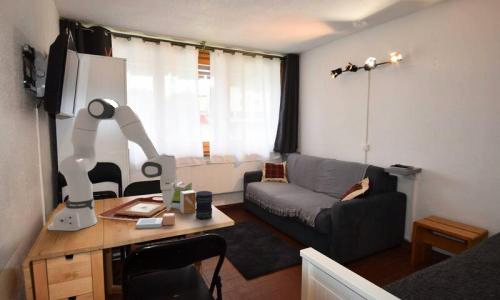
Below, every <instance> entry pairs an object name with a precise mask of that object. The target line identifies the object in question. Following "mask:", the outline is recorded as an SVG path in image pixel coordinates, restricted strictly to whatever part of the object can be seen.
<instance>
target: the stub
mask: <svg viewBox="0 0 500 300" xmlns="http://www.w3.org/2000/svg"><path fill="white" fill-rule="evenodd" d="M162 218H163V224H162V226H169V225H171V226H172V225H175V222H176V213H174V212H173V213H172V212H171V213H167V212H166V213H163V215H162Z"/></svg>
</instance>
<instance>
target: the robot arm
mask: <svg viewBox="0 0 500 300" xmlns="http://www.w3.org/2000/svg"><path fill="white" fill-rule="evenodd" d="M76 113H77V114H76V116H75V119H74V121H73V122H74V123H73V127H72V131H71V132H72V133H71V139H70V142H71V144H72V148H73V149H72V150H73V152H72V153H73V154H72V155H68V156H66V157H65V158H63V159H62V160H61V161H60V162H59V164H58V170H59V172H60V174H61V175H63V177H64V179H65V181H66V184H67V189H68V190H67V191H68V198H67V200H66V201H64V203H63V205H64V208H62V209H60V211H58V212H57V213H56V214H55V215H54V216H53V219H52V223H50V224H49V225H48V226H47V230H48V231H71V232H72V231H73V232H75V231H79V230H82V229H85V228H89V227H92V226H94V225H95V224H97V223H98V219H97V217H96V214H95V212H96V211H95V198H94V196H93V195H94V193H93V190H94V189H93V183H92V182H91V180H90V178H89V175H88V172H90V171H91V170H93V169H94V168H95V167H96V166H97V163H98V159H97V156H96V143H97V135H98V129H99V125H100V123H101V121H110V120H111V121H112V120H114V121H116V123H117V125H118V127H119V129H120V131H121V134H122V135H123V136H124V137H125V139H126V140H127V141H130V142H131V143H134V144H136V145H138V146H139V147H140V148H141V150H142V151H143V153H144V155H145V157H146V159H147V160H146V161H145V162H144V163H143V164H142V165H141V168H140V171H141V173H142V175H143V176H144V177H145V178H148V179H153V178H158V177H159V178H160V179H159V182H160V190H161V196H162V202H163V205H165V206H166V207H165V208H166V211H171V206H170V205H172V199H173V196H174V189H175V187H176V186H177V182H178V175H177V170H178V169H177V160H176V157H175V155H173V154H170V153H161V154H159V153H158V151H157V150H156V148H155V146H154V145H153V142H152V141H151V139H150V137H149V135H148V132H146V129H145V127H144V124H143V123H142V121H141V119H140V117H139V115H138V113H137V112H136V111H135V109H134V108H133V106H131V105H130V104H121V105H120V103H119V102H118V101H115V100H113V99H109V98H100V97H99V98H95V99H92V100H90V101H89V103H87V107H83V108H80V109H78V111H77V112H76Z"/></svg>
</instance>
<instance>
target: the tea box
mask: <svg viewBox="0 0 500 300" xmlns="http://www.w3.org/2000/svg"><path fill="white" fill-rule="evenodd" d="M189 190H193V187H192V181H191V182H190V181H177V186H176V187H175V189H174V196H173V199H172V205H170V209H180V192H182V191H189Z"/></svg>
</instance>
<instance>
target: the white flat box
mask: <svg viewBox="0 0 500 300" xmlns="http://www.w3.org/2000/svg"><path fill="white" fill-rule="evenodd" d="M162 226H163V217H149V218H148V217H147V218H144V217H143V218H139V219H138V221H137V222H136V224H135V229H149V228H151V229H152V228H162Z"/></svg>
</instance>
